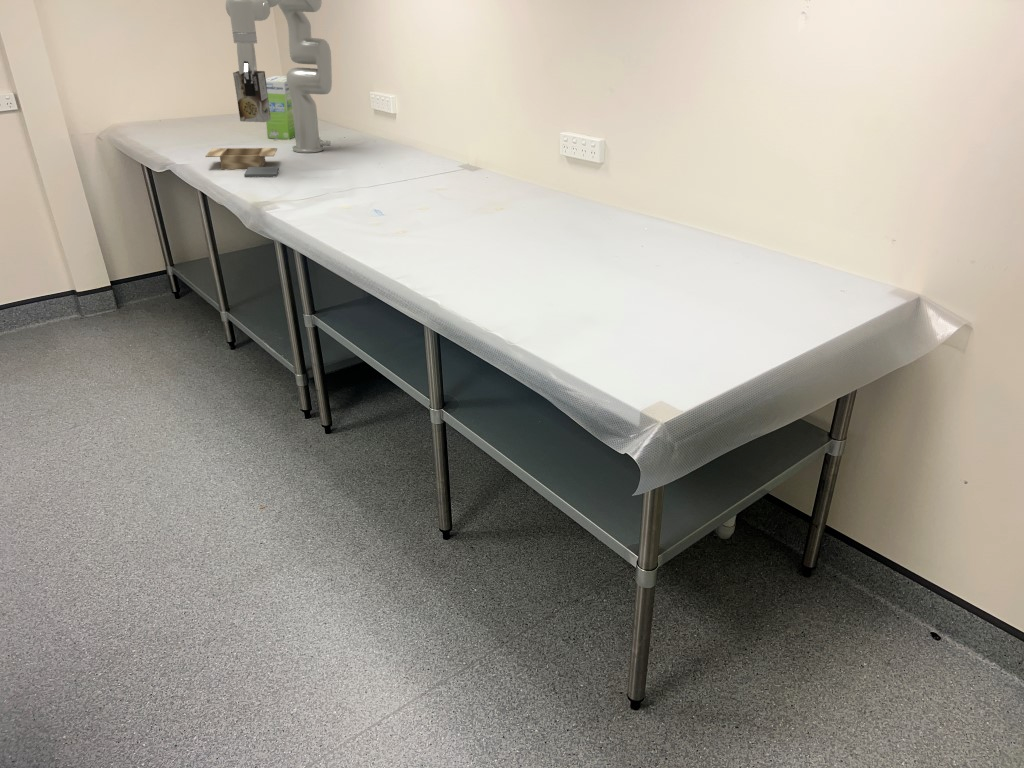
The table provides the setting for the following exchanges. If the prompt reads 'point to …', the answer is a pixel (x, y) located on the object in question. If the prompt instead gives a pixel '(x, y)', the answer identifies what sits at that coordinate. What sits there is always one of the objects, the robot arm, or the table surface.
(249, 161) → the carton
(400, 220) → the table surface
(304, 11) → the robot arm
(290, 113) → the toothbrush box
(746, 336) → the table surface
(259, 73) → the coffee box
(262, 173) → the mat
